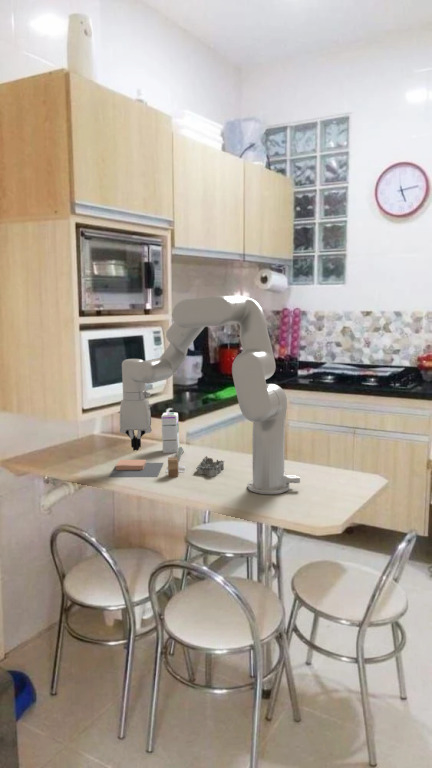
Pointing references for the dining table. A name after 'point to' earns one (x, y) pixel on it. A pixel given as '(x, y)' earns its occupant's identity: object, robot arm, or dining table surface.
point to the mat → (139, 471)
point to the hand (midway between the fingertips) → (136, 449)
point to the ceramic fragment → (178, 453)
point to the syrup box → (170, 432)
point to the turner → (174, 467)
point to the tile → (131, 465)
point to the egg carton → (210, 467)
